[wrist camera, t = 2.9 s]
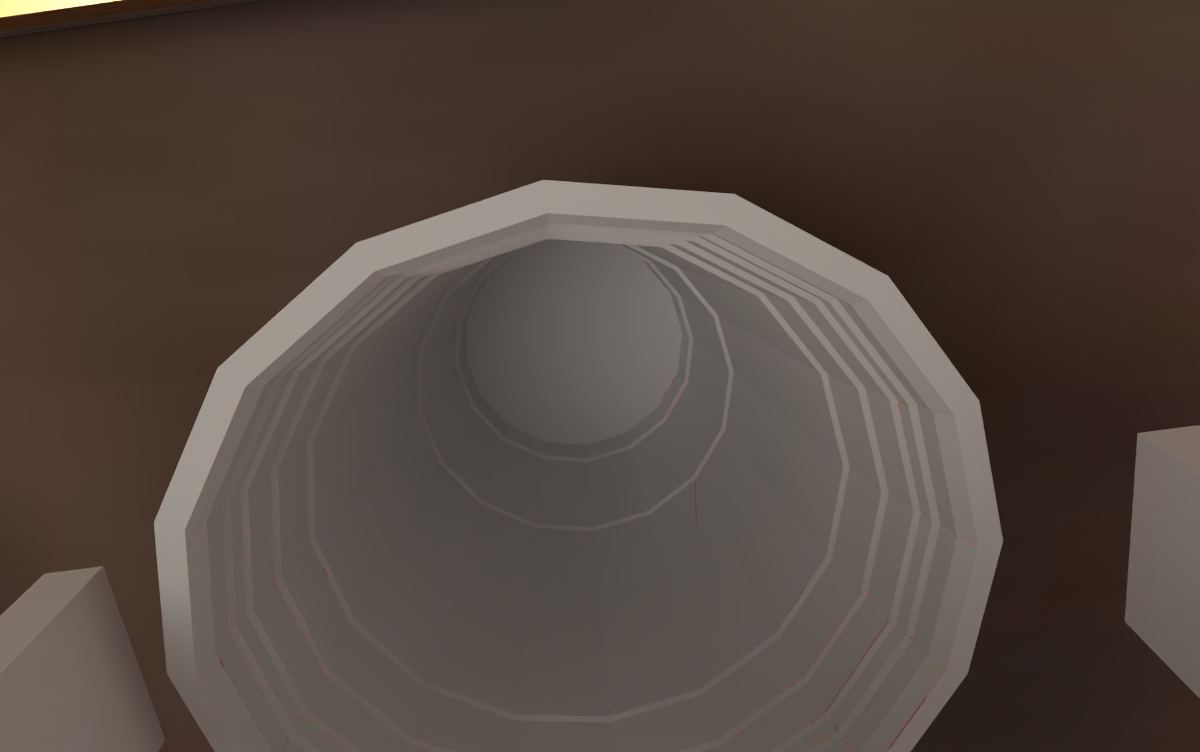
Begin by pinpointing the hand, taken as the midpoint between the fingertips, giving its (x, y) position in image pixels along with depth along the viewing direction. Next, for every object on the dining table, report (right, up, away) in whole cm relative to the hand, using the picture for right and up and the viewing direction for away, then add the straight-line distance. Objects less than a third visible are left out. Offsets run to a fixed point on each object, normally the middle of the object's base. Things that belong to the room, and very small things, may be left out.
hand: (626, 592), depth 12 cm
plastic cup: (-1, +4, +11) cm, 12 cm away
